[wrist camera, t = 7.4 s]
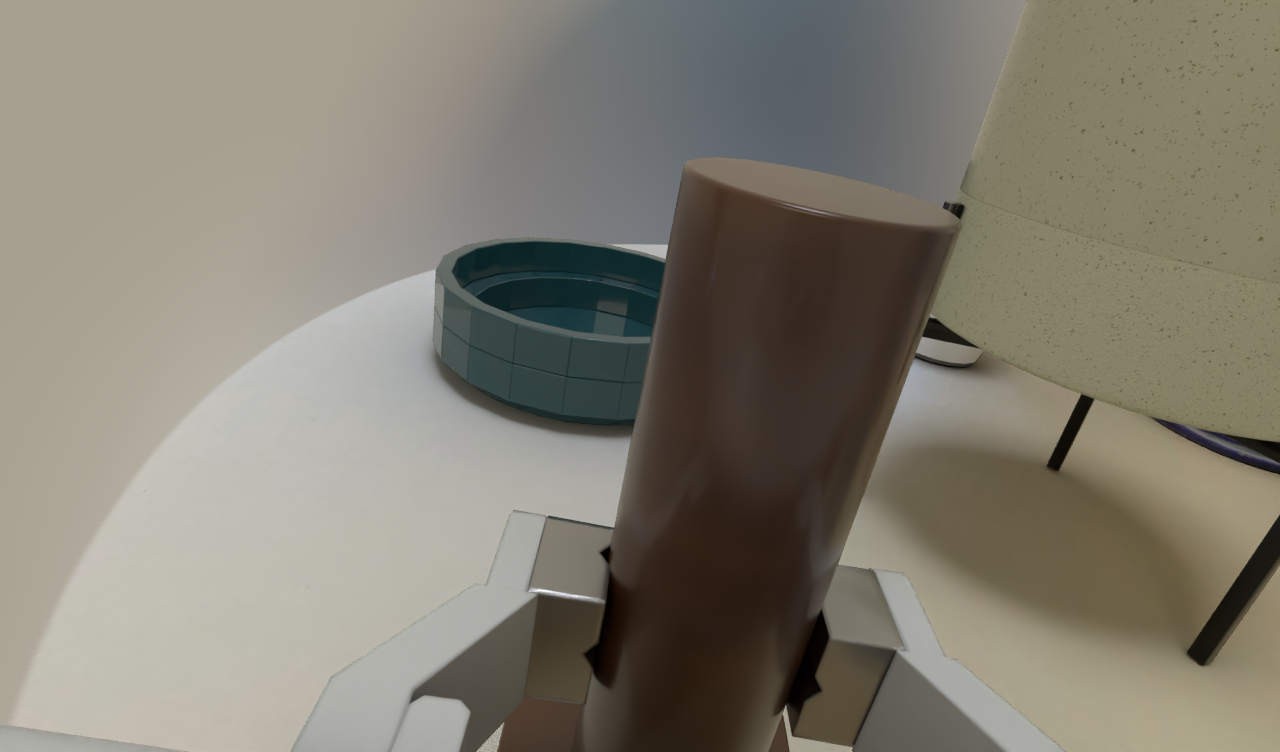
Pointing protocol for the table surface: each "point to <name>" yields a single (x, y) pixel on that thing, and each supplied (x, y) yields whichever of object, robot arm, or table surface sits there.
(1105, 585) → the table surface
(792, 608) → the post on square base
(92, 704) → the table surface
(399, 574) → the table surface
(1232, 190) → the planter
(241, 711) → the table surface
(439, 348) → the dish
